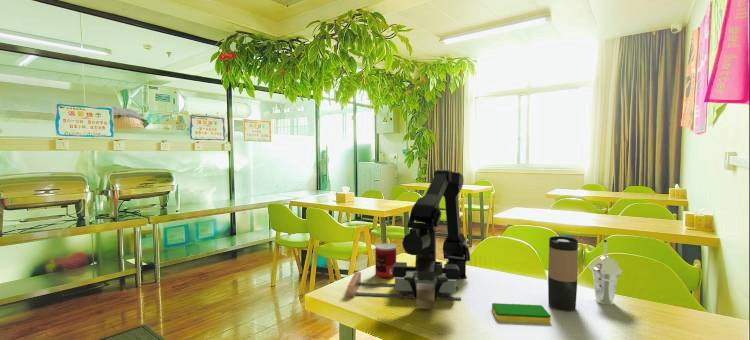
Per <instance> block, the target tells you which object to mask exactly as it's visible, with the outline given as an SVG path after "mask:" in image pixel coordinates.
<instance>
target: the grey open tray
mask: <svg viewBox="0 0 750 340" xmlns="http://www.w3.org/2000/svg"><path fill="white" fill-rule="evenodd" d="M447 279H448V278H447ZM415 281H416V290H417V283H425V284H434V289H435V281H436V276H435V280H434V281H430V280H418V279H417V273H415ZM456 282H457V280H450V279H448V281H447V282H444V283H443V284H442V286H441V288H440V290H439V293H442V296H444V297H448V296H449V297H450V296H451V294H456V293H457V289H456V286H457V283H456ZM394 284H395V287H394V290H395V291H399V292H400V294H402V295H408V293H409V292H413V291H412V288H411V285H410V283H409V282H408V281H407V280H404V278H400V277H394Z"/></svg>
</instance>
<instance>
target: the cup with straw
mask: <svg viewBox="0 0 750 340" xmlns="http://www.w3.org/2000/svg"><path fill="white" fill-rule="evenodd" d="M607 249H608V240H607V239H603V255H602V256H598V257H595V259H594V260H593V261H592V263H590V264H589V266H588V268H589V270H591V275H592V278H593V288H594V289H593V290H594V296H595V301H596V303H598V304H601V305H607V306H609V305H613V304H614V300H615V297H616V296H615V294H616V289H617V283H618V281H619V276H620V275H621V274H622V273H623V272H622V271H623V269H622V268H621V267H619V264H618V262H617V261H616V260H615V259H614V258H611V256H607V255H608V253H607V252H608V250H607Z"/></svg>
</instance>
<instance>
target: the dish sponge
mask: <svg viewBox="0 0 750 340" xmlns="http://www.w3.org/2000/svg"><path fill="white" fill-rule="evenodd" d="M491 311H492V313H493V315H494V317H495V319H496V320H497V321H498V322H517V323H518V322H519V323H520V322H521V323H539V324H540V323H541V324H551V317H552V316H551V314H550V313H549V312H548V310H546V309H545V307H544V306H543V305H542V304H524V303H523V304H521V303H498V302H497V303H496V302H495V303H494V302H493V303H491Z"/></svg>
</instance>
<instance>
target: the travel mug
mask: <svg viewBox="0 0 750 340" xmlns="http://www.w3.org/2000/svg"><path fill="white" fill-rule="evenodd" d="M548 241H549V242H548V270H547V271H548V272H547V286H548V287H547V288H548V289H547V290H548V291H547V293H548V295H547V296H548V298H547V299H548V306H549V307H550V308H551V309H554V310H557V311H560V312H574V311H576V308H577V307H576V306H577V293H578V292H577V291H578V266H579V265H578V262H579V261H578V259H579V257H578V256H579V255H578V254H579V241H578V239H576V238H573V237H568V236H558V235H557V236H550V237H549V239H548Z"/></svg>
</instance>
